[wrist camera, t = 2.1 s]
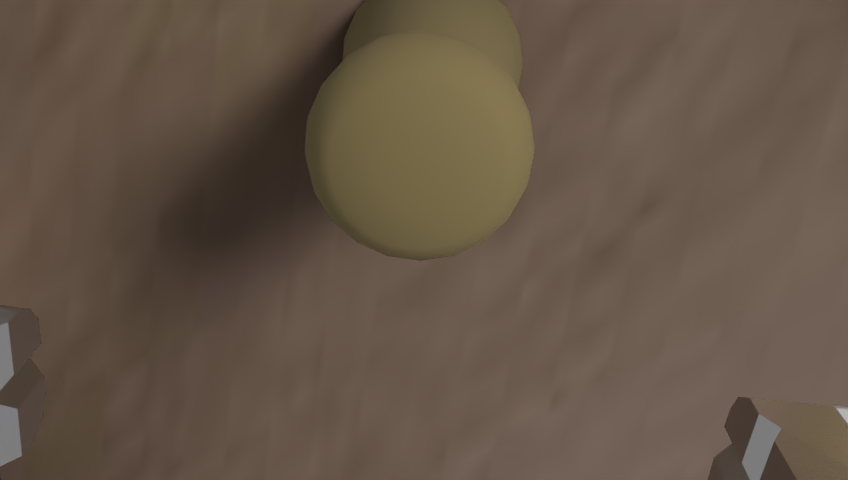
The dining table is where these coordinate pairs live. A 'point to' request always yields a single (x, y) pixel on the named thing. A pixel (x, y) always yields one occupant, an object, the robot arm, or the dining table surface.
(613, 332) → the dining table surface
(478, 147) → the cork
